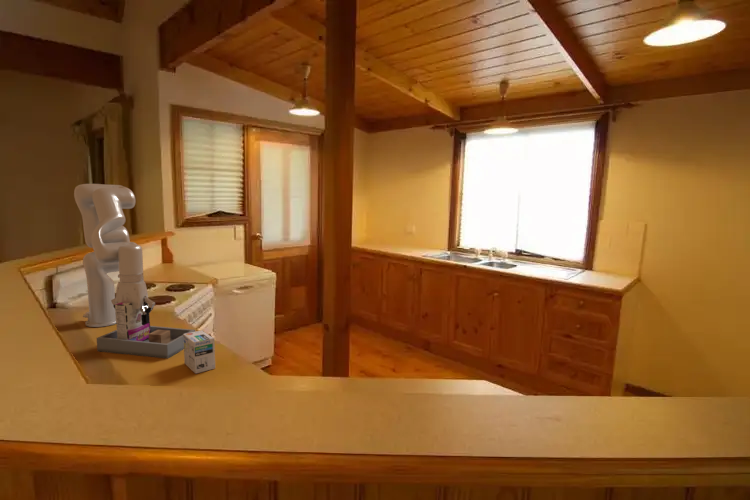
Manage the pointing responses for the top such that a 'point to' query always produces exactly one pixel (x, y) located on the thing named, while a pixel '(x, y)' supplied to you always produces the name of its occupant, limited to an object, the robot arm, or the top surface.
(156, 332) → the walnut cube
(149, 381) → the top surface
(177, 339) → the tote
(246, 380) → the top surface
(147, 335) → the candy bar box
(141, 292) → the robot arm
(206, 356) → the light bulb box
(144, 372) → the top surface
